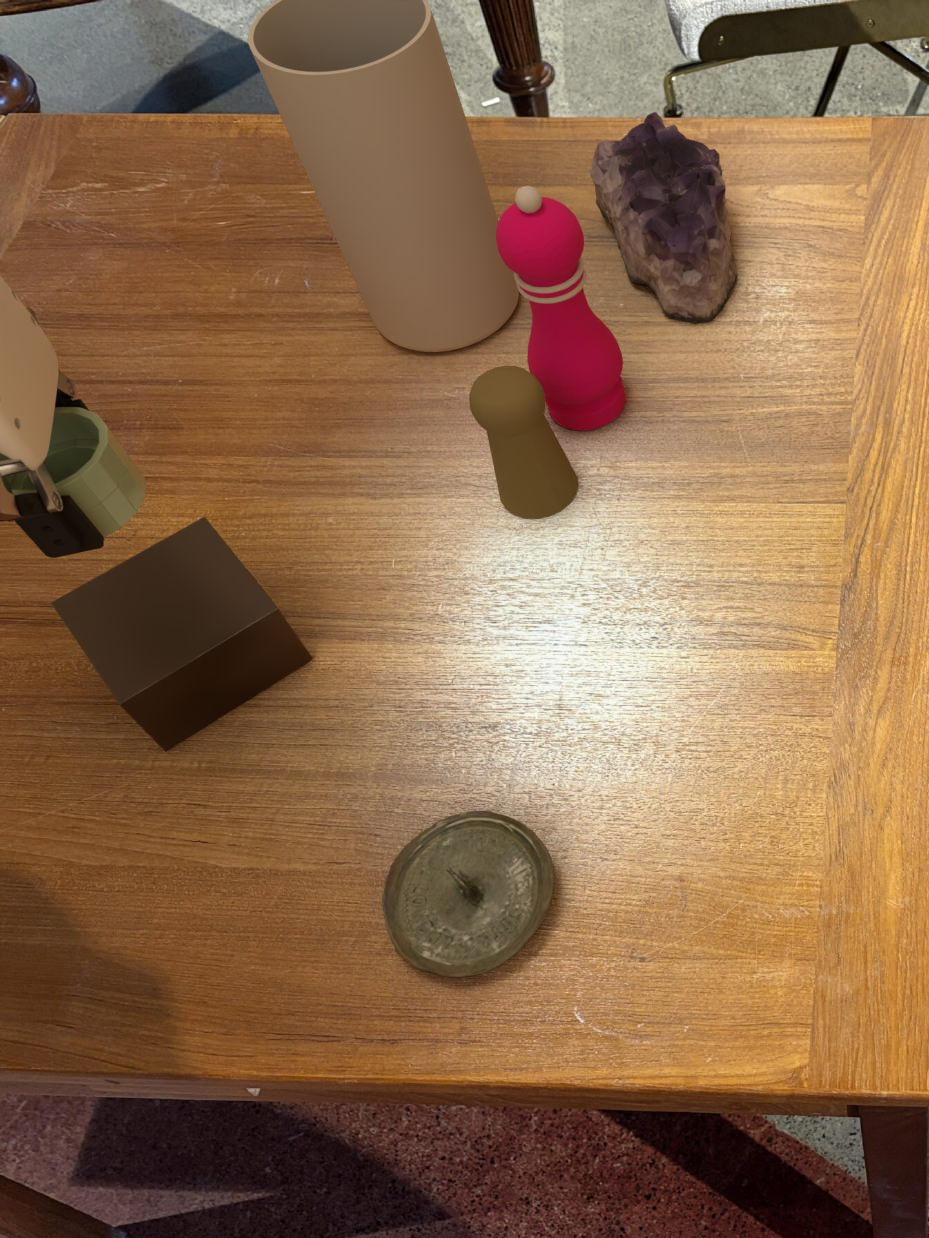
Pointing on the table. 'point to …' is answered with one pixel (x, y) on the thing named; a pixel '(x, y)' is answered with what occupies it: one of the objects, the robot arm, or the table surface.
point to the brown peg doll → (522, 443)
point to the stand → (182, 633)
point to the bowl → (89, 470)
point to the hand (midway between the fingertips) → (82, 499)
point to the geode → (668, 217)
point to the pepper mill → (561, 313)
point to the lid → (467, 894)
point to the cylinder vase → (390, 163)
